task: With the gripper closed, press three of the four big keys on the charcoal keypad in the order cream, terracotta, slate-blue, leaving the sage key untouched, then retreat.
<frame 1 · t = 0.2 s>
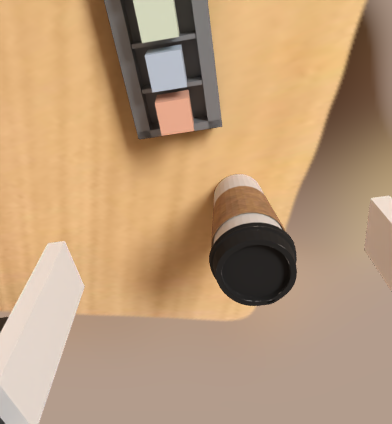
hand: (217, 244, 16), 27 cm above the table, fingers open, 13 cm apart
key slate: (167, 68, 34), point 4 cm above the table, slide at 0.0 cm
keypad: (164, 37, 36), on the table
key sage: (157, 17, 31), point 4 cm above the table, slide at 0.0 cm
key terracotta: (175, 112, 36), point 4 cm above the table, slide at 0.0 cm
coffee cup: (237, 193, 46), on the table
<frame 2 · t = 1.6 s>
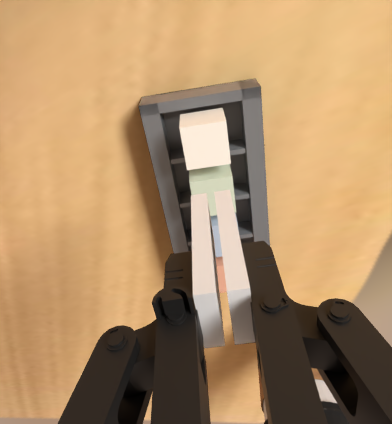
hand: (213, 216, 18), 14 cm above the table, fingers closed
key slate: (218, 230, 31), point 4 cm above the table, slide at 0.0 cm
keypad: (212, 187, 33), on the table
key cream: (205, 138, 27), point 4 cm above the table, slide at 0.0 cm
key sage: (212, 188, 29), point 4 cm above the table, slide at 0.0 cm
key terracotta: (224, 267, 33), point 4 cm above the table, slide at 0.0 cm
coffee cup: (278, 318, 43), on the table
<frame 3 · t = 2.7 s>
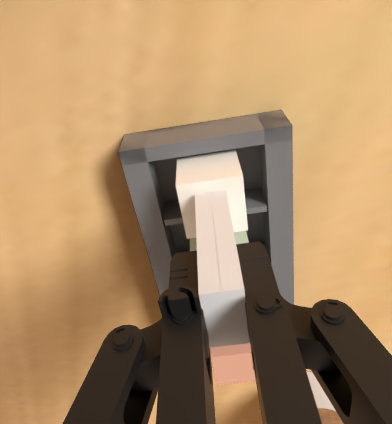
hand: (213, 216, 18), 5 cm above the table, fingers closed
key slate: (228, 309, 23), point 4 cm above the table, slide at 0.0 cm
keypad: (220, 245, 26), on the table
key cream: (211, 193, 19), point 3 cm above the table, slide at 0.5 cm, touching gripper
key sage: (221, 260, 21), point 4 cm above the table, slide at 0.0 cm
key terracotta: (235, 350, 26), point 4 cm above the table, slide at 0.0 cm
coffee cup: (298, 386, 36), on the table
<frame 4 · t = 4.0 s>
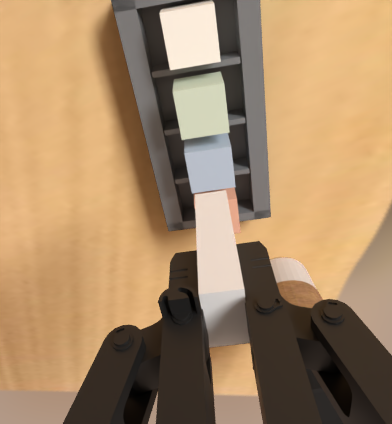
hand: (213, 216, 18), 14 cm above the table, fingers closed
key slate: (209, 161, 27), point 4 cm above the table, slide at 0.0 cm
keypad: (203, 115, 29), on the table
key cream: (190, 34, 23), point 3 cm above the table, slide at 1.2 cm
key sage: (201, 105, 24), point 4 cm above the table, slide at 0.0 cm
key terracotta: (216, 208, 29), point 4 cm above the table, slide at 0.0 cm
coffee cup: (278, 276, 39), on the table
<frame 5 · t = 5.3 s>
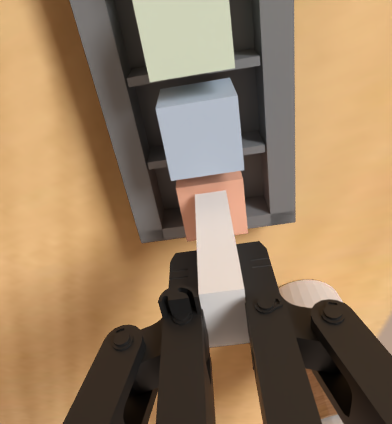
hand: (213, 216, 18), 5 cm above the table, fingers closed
key slate: (201, 128, 16), point 4 cm above the table, slide at 0.0 cm
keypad: (192, 61, 18), on the table
key sage: (185, 23, 14), point 4 cm above the table, slide at 0.0 cm
key terracotta: (211, 196, 19), point 3 cm above the table, slide at 1.1 cm, touching gripper
coffee cup: (300, 305, 28), on the table
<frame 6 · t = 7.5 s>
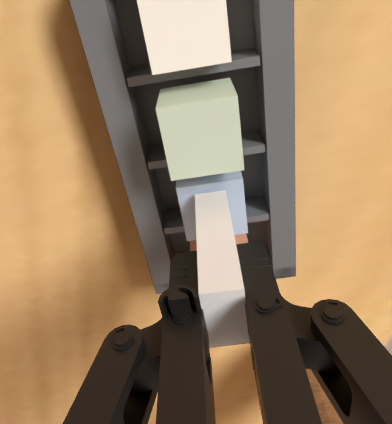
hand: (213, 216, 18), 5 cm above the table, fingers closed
key slate: (211, 196, 19), point 3 cm above the table, slide at 1.1 cm, touching gripper
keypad: (204, 139, 21), on the table
key cream: (185, 20, 15), point 3 cm above the table, slide at 1.2 cm
key sage: (201, 128, 16), point 4 cm above the table, slide at 0.0 cm
key terracotta: (220, 256, 22), point 3 cm above the table, slide at 1.2 cm
coffee cup: (300, 339, 31), on the table
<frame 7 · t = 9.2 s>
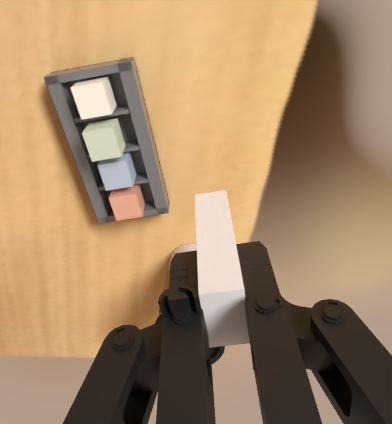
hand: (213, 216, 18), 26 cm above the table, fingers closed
key slate: (117, 170, 42), point 3 cm above the table, slide at 1.2 cm
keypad: (116, 144, 43), on the table
key cream: (94, 97, 37), point 3 cm above the table, slide at 1.2 cm
key sage: (104, 139, 39), point 4 cm above the table, slide at 0.0 cm
key terracotta: (127, 201, 44), point 3 cm above the table, slide at 1.2 cm
coffee cup: (190, 258, 53), on the table
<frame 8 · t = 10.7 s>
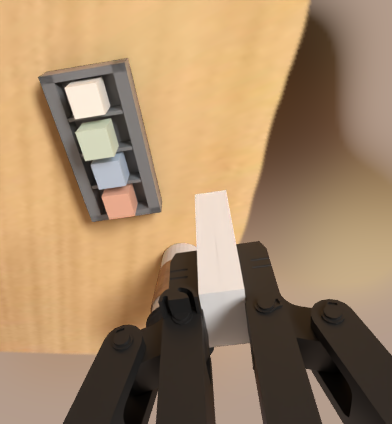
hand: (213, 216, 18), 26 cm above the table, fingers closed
key slate: (111, 169, 42), point 3 cm above the table, slide at 1.2 cm
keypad: (110, 143, 44), on the table
key cream: (88, 97, 38), point 3 cm above the table, slide at 1.2 cm
key sage: (98, 139, 39), point 4 cm above the table, slide at 0.0 cm
key terracotta: (120, 200, 45), point 3 cm above the table, slide at 1.2 cm
coffee cup: (182, 257, 53), on the table
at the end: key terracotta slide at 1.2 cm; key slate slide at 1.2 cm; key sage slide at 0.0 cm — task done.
